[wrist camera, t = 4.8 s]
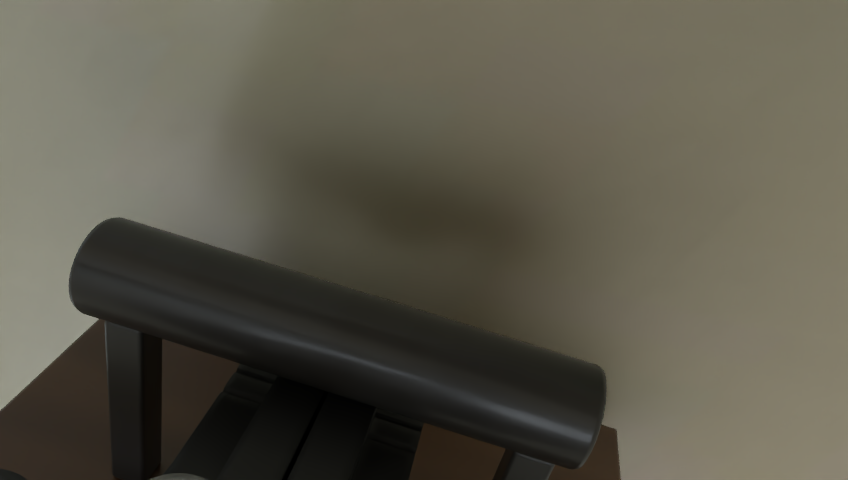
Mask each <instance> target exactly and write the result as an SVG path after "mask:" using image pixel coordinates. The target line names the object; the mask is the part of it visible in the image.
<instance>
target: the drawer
mask: <svg viewBox="0 0 848 480" xmlns="http://www.w3.org/2000/svg"><path fill="white" fill-rule="evenodd" d="M69 295H70V299H71V302H72V303H73V305H74V306H75V307H76V308H77V309H78V310H79V311H80V312H81V313H84V314H86V315H90V316H93V317H96V318H99V320H97V321H96V322H95V323H94V324H93V325H92V326H91V327H90V328H89V329H88V330H87V331H86V332H85V333H83V334H82V335H81V336H80V337H79V338H78V339H77V340H76V341H75V342H74V343H73V344H72V345H71V346H69V347H68V348H67V349H66V350H65V351H64V352H63V353H62V354H61V355H60V356H59V357H58V358H57V359H56V360H54V361H53V362H52V363H51V364H50V365H49V366H48V367H47V368H46V369H45V370H44V371H43V372H42V373H40V374H39V375H38V376H37V377H36V378H35V379H34V380H33V381H32V382H31V383H30V384H29V385H28V386H26V387H25V388H24V389H23V390H22V391H21V392H20V393H19V394H18V395H17V396H16V397H15V398H14V399H13V400H11V401H10V402H9V403H8V404H7V405H6V406H5V407H4V408H3V409H2V410H1V411H0V469H5V470H9V471H12V472H15V473H17V474H20V475H21V476H23V477H24V478H26V479H27V480H149V479H151V478H154V477H157V476H161V475H162V474H163V473H164V472H165V471H166V470H167V469H168V468H169V466H170V465H171V464H172V462H173V461H174V460H175V458H176V457H177V455H178V454H179V452H180V451H181V449H182V448H183V446H184V445H185V443H186V442H187V441H188V439H189V438H190V436H191V435H192V433H193V432H194V430H195V429H196V427H197V426H198V425H199V423H200V422H201V420H202V419H203V417H204V416H205V414H206V413H207V411H208V410H209V408H210V407H211V406H212V404H213V403H214V401H215V400H216V398H217V397H218V395H219V394H220V392H223V390H224V387H225V385H226V384H227V382H228V381H229V379H230V378H231V376H232V375H233V373H234V372H235V373H236V371H237V368H238V366H239V365H240V364H243V365H246V366H249V367H252V368H255V369H258V370H261V371H264V372H267V373H271V374H274V375H277V376H280V377H283V378H286V379H289V380H292V381H296V382H299V383H302V384H305V385H308V386H311V387H314V388H317V389H321V390H324V391H327V392H330V393H333V394H336V395H339V396H342V397H346V398H349V399H352V400H355V401H358V402H361V403H364V404H367V405H371V406H374V407H377V408H380V409H383V410H386V411H389V412H392V413H395V414H399V415H402V416H405V417H408V418H411V419H414V420H417V421H420V422H424V424H423V428H422V431H421V435H420V439H419V443H418V446H417V450H416V453H415V457H414V461H413V465H412V468H411V472H410V476H409V480H621V479H620V466H619V454H618V442H617V431H616V429H614V428H611V427H608V426H604V425H601V424H602V420H603V415H604V410H605V404H606V376H605V373H604V370H603V369H602V368H601V367H599V366H598V365H596V364H593V363H590V362H587V361H583V360H580V359H577V358H574V357H570V356H567V355H564V354H561V353H557V352H554V351H551V350H548V349H545V348H541V347H538V346H535V345H532V344H528V343H525V342H522V341H519V340H516V339H512V338H509V337H506V336H503V335H499V334H496V333H493V332H490V331H486V330H483V329H480V328H477V327H474V326H470V325H467V324H464V323H461V322H457V321H454V320H451V319H448V318H444V317H441V316H438V315H435V314H432V313H428V312H425V311H422V310H419V309H415V308H412V307H409V306H406V305H403V304H399V303H396V302H393V301H390V300H386V299H383V298H380V297H377V296H373V295H370V294H367V293H364V292H361V291H357V290H354V289H351V288H348V287H344V286H341V285H338V284H335V283H331V282H328V281H325V280H322V279H319V278H315V277H312V276H309V275H306V274H302V273H299V272H296V271H293V270H290V269H286V268H283V267H280V266H277V265H273V264H270V263H267V262H264V261H260V260H257V259H254V258H251V257H248V256H244V255H241V254H238V253H235V252H231V251H228V250H225V249H222V248H218V247H215V246H212V245H209V244H206V243H202V242H199V241H196V240H193V239H189V238H186V237H183V236H180V235H177V234H173V233H170V232H167V231H164V230H160V229H157V228H154V227H151V226H147V225H144V224H141V223H138V222H135V221H131V220H128V219H125V218H120V217H119V218H110V219H107V220H105V221H103V222H101V223H100V224H98V225H97V226H96V227H95V228H94V229H93V230H92V231H91V232H90V233H89V234H88V236H87V237H86V238H85V240H84V241H83V243H82V245H81V246H80V248H79V250H78V252H77V254H76V257H75V259H74V262H73V265H72V268H71V272H70V278H69Z"/></svg>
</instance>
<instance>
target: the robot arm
mask: <svg viewBox="0 0 848 480" xmlns="http://www.w3.org/2000/svg"><path fill="white" fill-rule="evenodd" d="M423 424H424V422H420V421H417V420H414V419H411V418H408V417H405V416H402V415H399V414H395V413H392V412H389V411H386V410H383V409H380V408H377V407H374V406H371V405H367V404H364V403H361V402H358V401H355V400H352V399H349V398H346V397H342V396H339V395H336V394H333V393H330V392H327V391H324V390H321V389H317V388H314V387H311V386H308V385H305V384H302V383H299V382H296V381H292V380H289V379H286V378H283V377H280V376H277V375H274V374H271V373H267V372H264V371H261V370H258V369H255V368H252V367H249V366H246V365H243V364H240V365H239V366H238V368H237V371H236V373H235V372H234V373H233V375H232V376H231V378H230V379H229V381H228V382H227V384H226V385H225V387H224V390H223V392H220V394H219V395H218V397H217V398H216V400H215V401H214V403H213V404H212V406H211V407H210V408H209V410H208V411H207V413H206V414H205V416H204V417H203V419H202V420H201V422H200V423H199V425H198V426H197V427H196V429H195V430H194V432H193V433H192V435H191V436H190V438H189V439H188V441H187V442H186V443H185V445H184V446H183V448H182V449H181V451H180V452H179V454H178V455H177V457H176V458H175V460H174V461H173V462H172V464H171V465H170V466H169V468H168V469H167V470H166V471H165V472H164V473H163V474H162V475H161V476H157V477H154V478H151V479H149V480H409V476H410V472H411V468H412V465H413V461H414V457H415V453H416V450H417V446H418V443H419V439H420V435H421V431H422V428H423ZM0 480H27V479H26V478H24V477H23V476H21V475H20V474H17V473H15V472H12V471H9V470H5V469H0Z"/></svg>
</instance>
